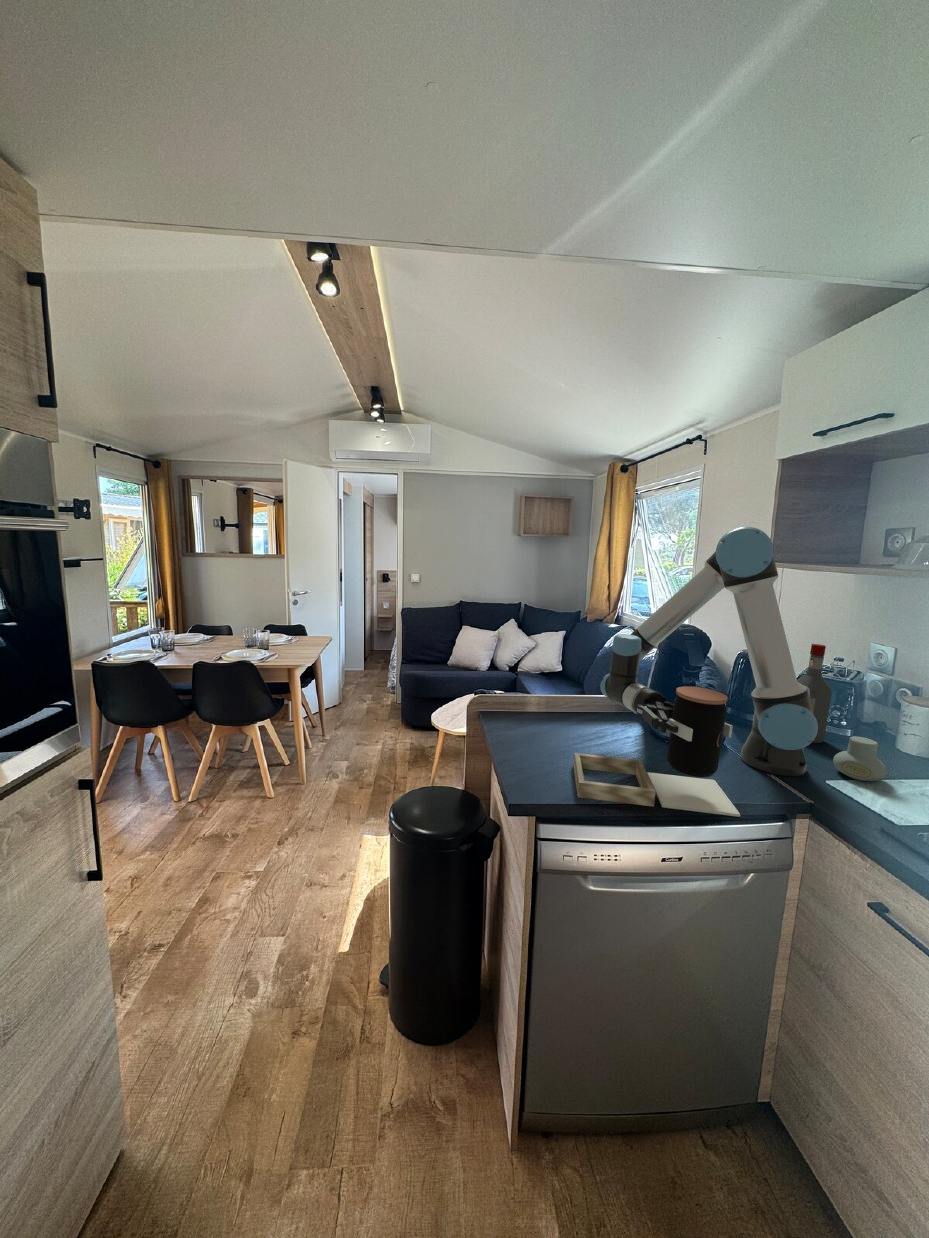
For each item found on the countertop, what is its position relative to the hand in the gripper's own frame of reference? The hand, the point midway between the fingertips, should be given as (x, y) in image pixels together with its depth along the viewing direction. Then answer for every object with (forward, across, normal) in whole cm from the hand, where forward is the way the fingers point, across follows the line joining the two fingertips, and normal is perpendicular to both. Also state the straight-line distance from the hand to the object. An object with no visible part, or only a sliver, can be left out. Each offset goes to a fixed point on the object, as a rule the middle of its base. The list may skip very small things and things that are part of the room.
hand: (711, 733), depth 108 cm
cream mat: (-4, 0, -16) cm, 17 cm away
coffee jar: (-4, 0, -10) cm, 11 cm away
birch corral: (-12, +16, -17) cm, 26 cm away
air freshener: (-1, -53, -16) cm, 55 cm away
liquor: (-25, -66, -16) cm, 72 cm away
